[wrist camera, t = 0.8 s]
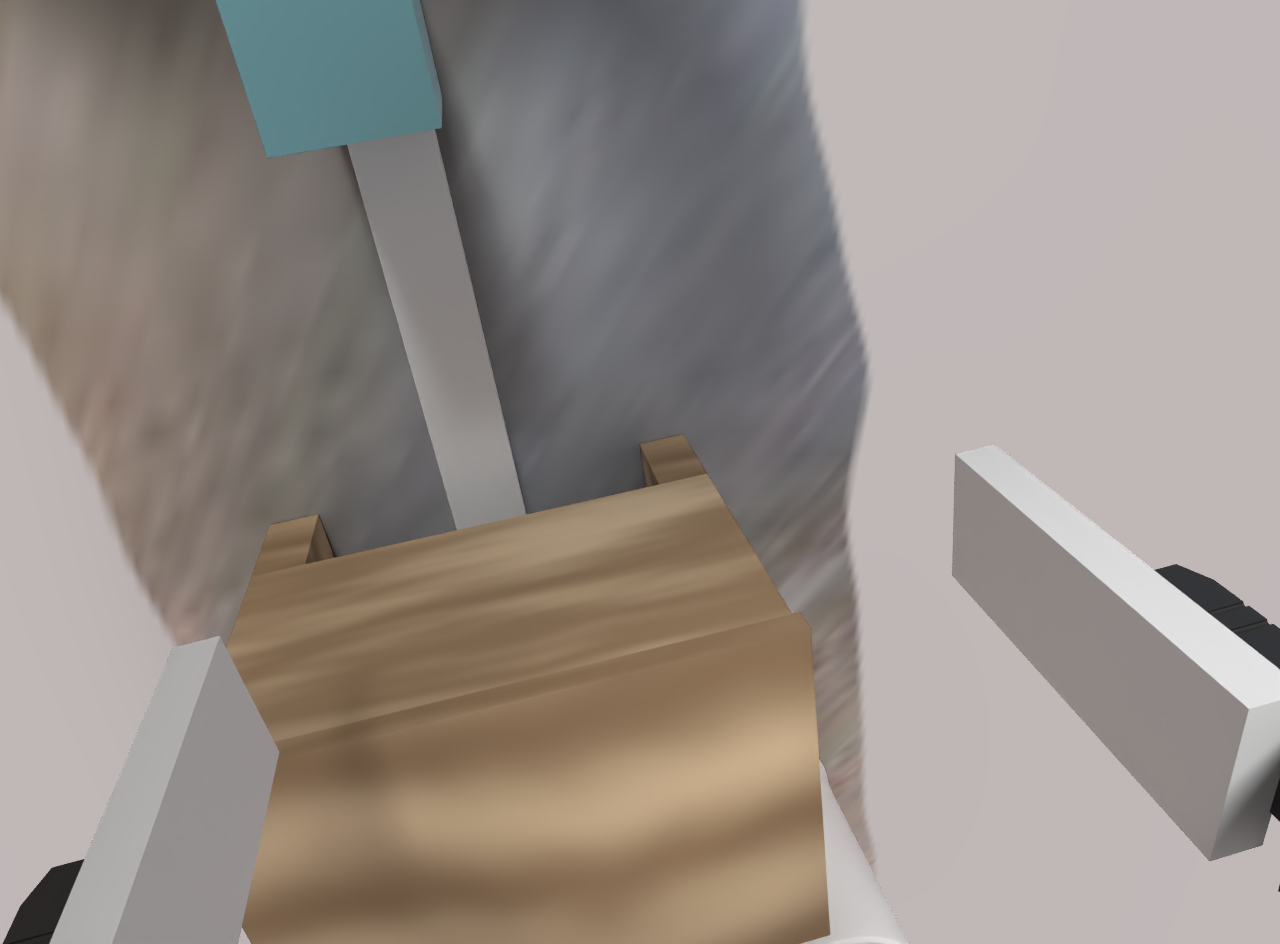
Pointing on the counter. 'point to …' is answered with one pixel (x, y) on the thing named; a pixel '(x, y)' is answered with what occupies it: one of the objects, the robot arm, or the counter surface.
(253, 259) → the counter surface
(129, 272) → the counter surface
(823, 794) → the mug
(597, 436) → the counter surface
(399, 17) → the teal cube mallet
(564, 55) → the counter surface
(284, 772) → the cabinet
